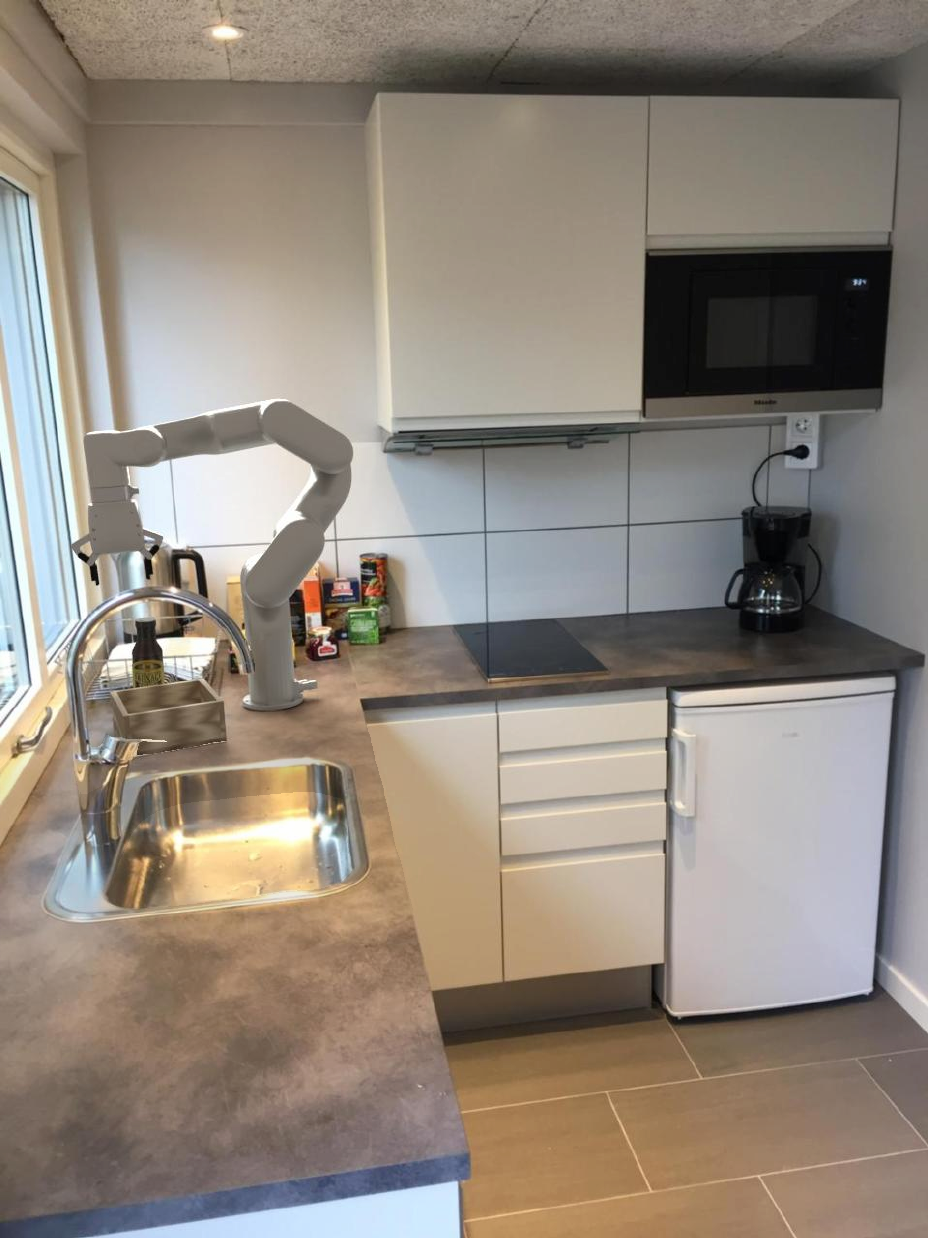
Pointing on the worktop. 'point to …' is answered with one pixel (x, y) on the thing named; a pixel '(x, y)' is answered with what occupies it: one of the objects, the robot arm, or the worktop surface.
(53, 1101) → the worktop surface
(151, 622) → the sauce bottle
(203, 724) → the crate
